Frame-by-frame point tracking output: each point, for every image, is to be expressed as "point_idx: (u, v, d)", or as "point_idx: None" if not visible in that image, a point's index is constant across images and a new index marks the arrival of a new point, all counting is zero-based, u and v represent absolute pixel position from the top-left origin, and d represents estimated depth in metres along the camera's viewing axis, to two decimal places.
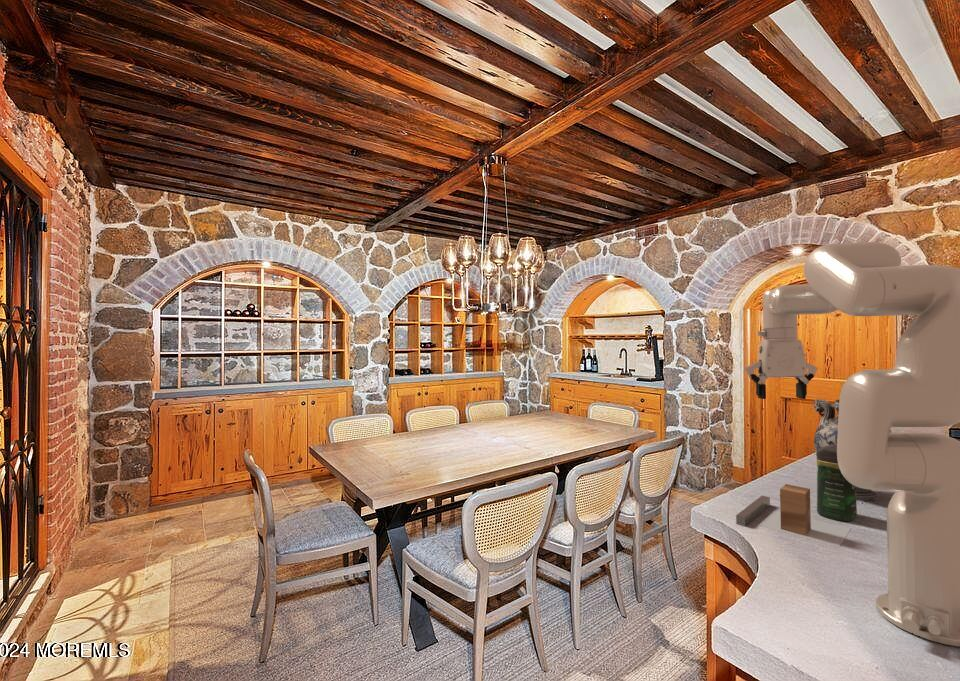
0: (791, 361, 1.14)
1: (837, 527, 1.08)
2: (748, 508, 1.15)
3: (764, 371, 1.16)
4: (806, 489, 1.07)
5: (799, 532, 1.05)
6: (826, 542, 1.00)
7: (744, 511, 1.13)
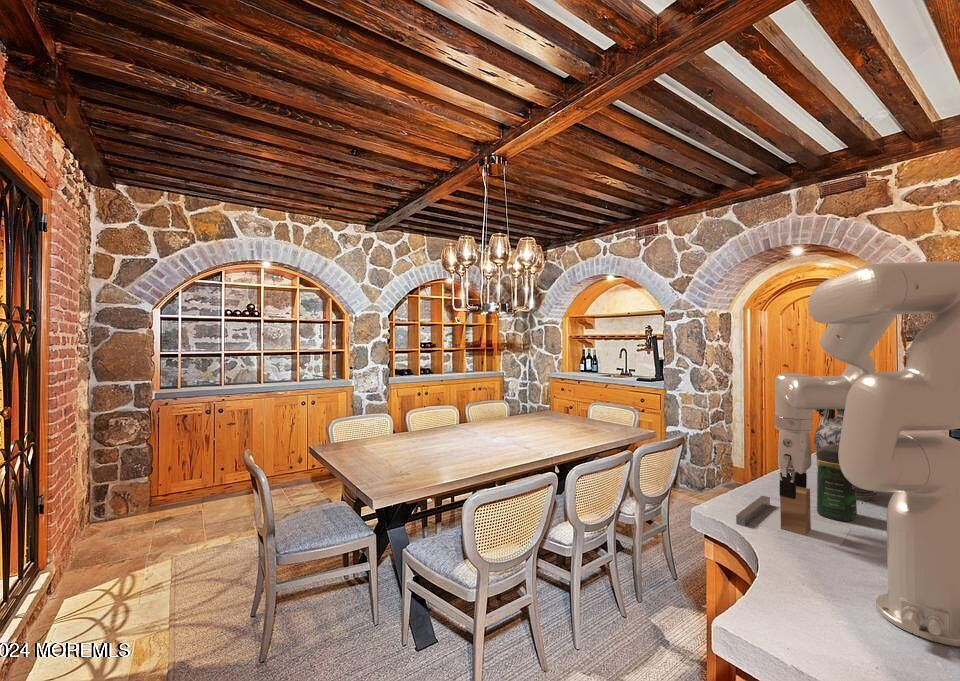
0: (808, 452, 1.06)
1: (837, 527, 1.08)
2: (748, 508, 1.15)
3: (798, 468, 1.03)
4: (806, 489, 1.07)
5: (799, 532, 1.05)
6: (826, 542, 1.00)
7: (744, 511, 1.13)
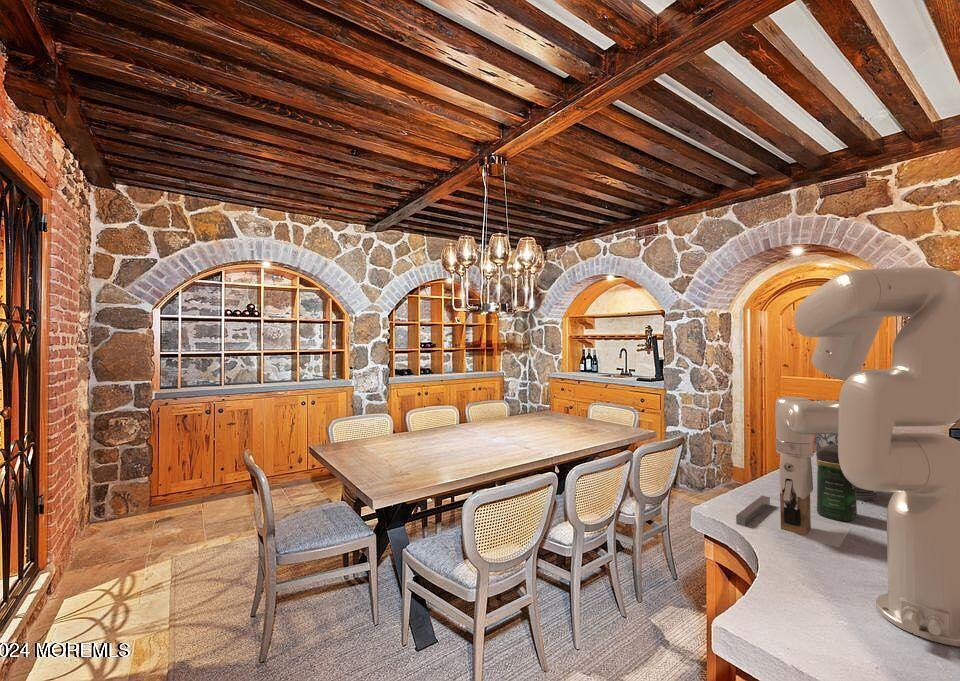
0: (809, 477, 1.06)
1: (837, 527, 1.08)
2: (748, 508, 1.15)
3: (799, 493, 1.02)
4: None
5: (799, 532, 1.05)
6: (826, 542, 1.00)
7: (744, 511, 1.13)
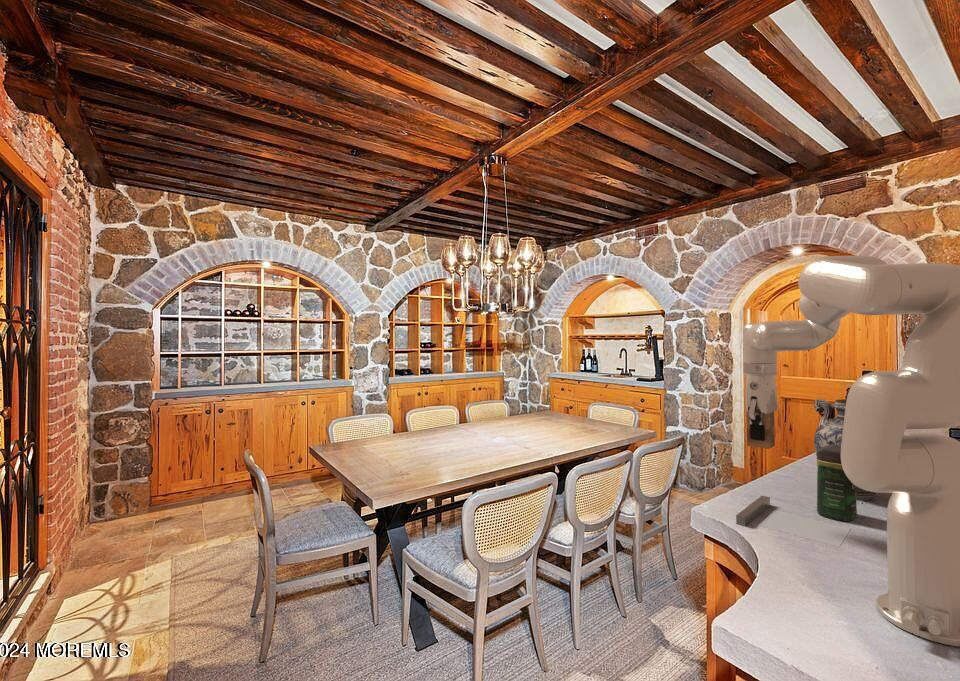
0: (774, 396, 1.14)
1: (837, 527, 1.08)
2: (748, 508, 1.15)
3: (763, 409, 1.10)
4: None
5: (763, 446, 1.13)
6: (826, 542, 1.00)
7: (744, 511, 1.13)
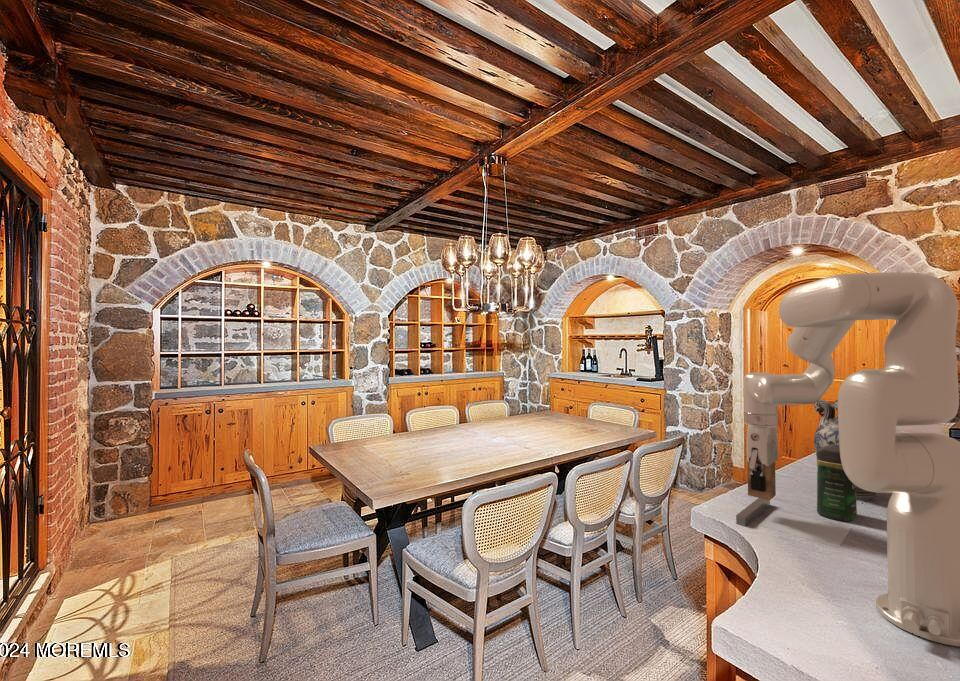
0: (774, 446, 1.14)
1: (837, 527, 1.08)
2: (748, 508, 1.15)
3: (764, 461, 1.10)
4: None
5: (764, 497, 1.13)
6: (826, 542, 1.00)
7: (744, 511, 1.13)
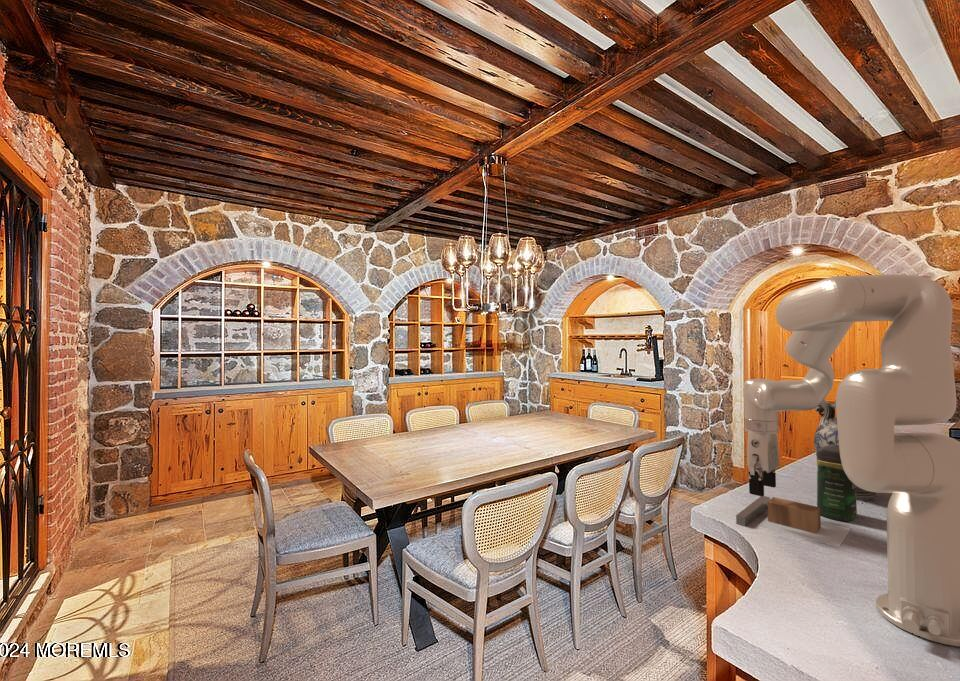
0: (775, 453, 1.14)
1: (837, 527, 1.08)
2: (748, 508, 1.15)
3: (765, 467, 1.10)
4: (819, 526, 1.07)
5: (769, 517, 1.12)
6: (826, 542, 1.00)
7: (744, 511, 1.13)
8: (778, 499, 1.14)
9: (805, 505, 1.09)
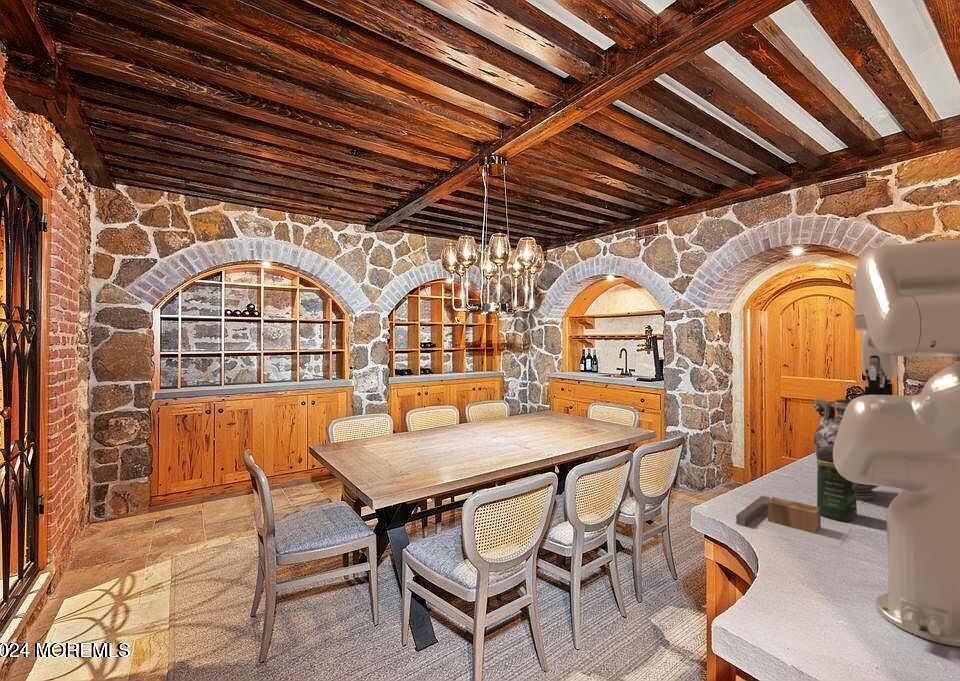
0: (896, 356, 0.92)
1: (837, 527, 1.08)
2: (748, 508, 1.15)
3: (888, 370, 0.88)
4: (819, 526, 1.07)
5: (769, 517, 1.12)
6: (826, 542, 1.00)
7: (744, 511, 1.13)
8: (778, 499, 1.14)
9: (805, 505, 1.09)
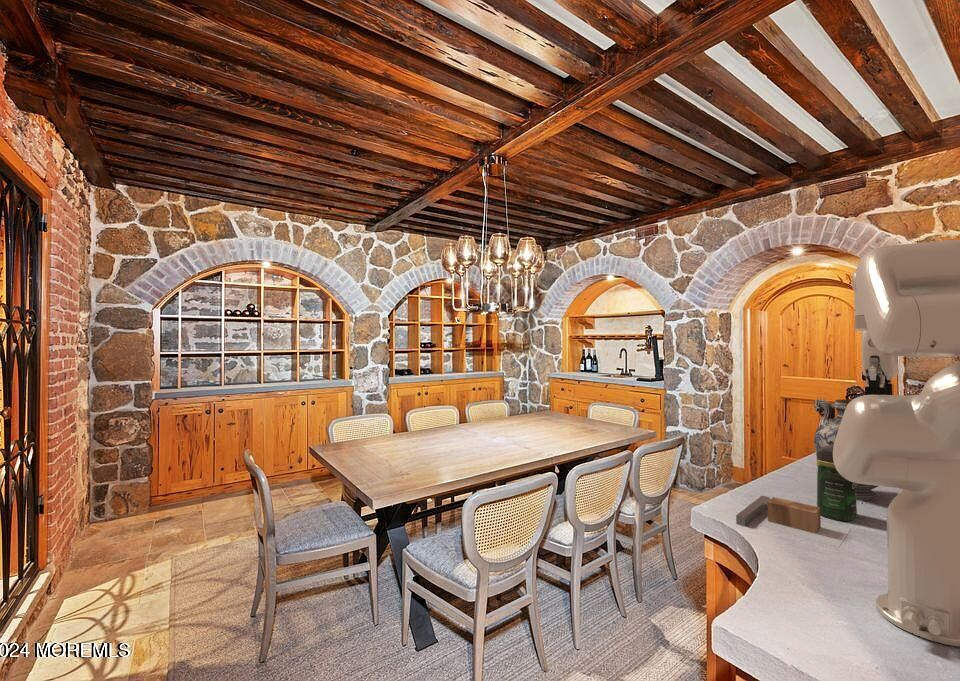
0: (896, 356, 0.92)
1: (837, 527, 1.08)
2: (748, 508, 1.15)
3: (888, 370, 0.88)
4: (819, 526, 1.07)
5: (769, 517, 1.12)
6: (826, 542, 1.00)
7: (744, 511, 1.13)
8: (778, 499, 1.14)
9: (805, 505, 1.09)
